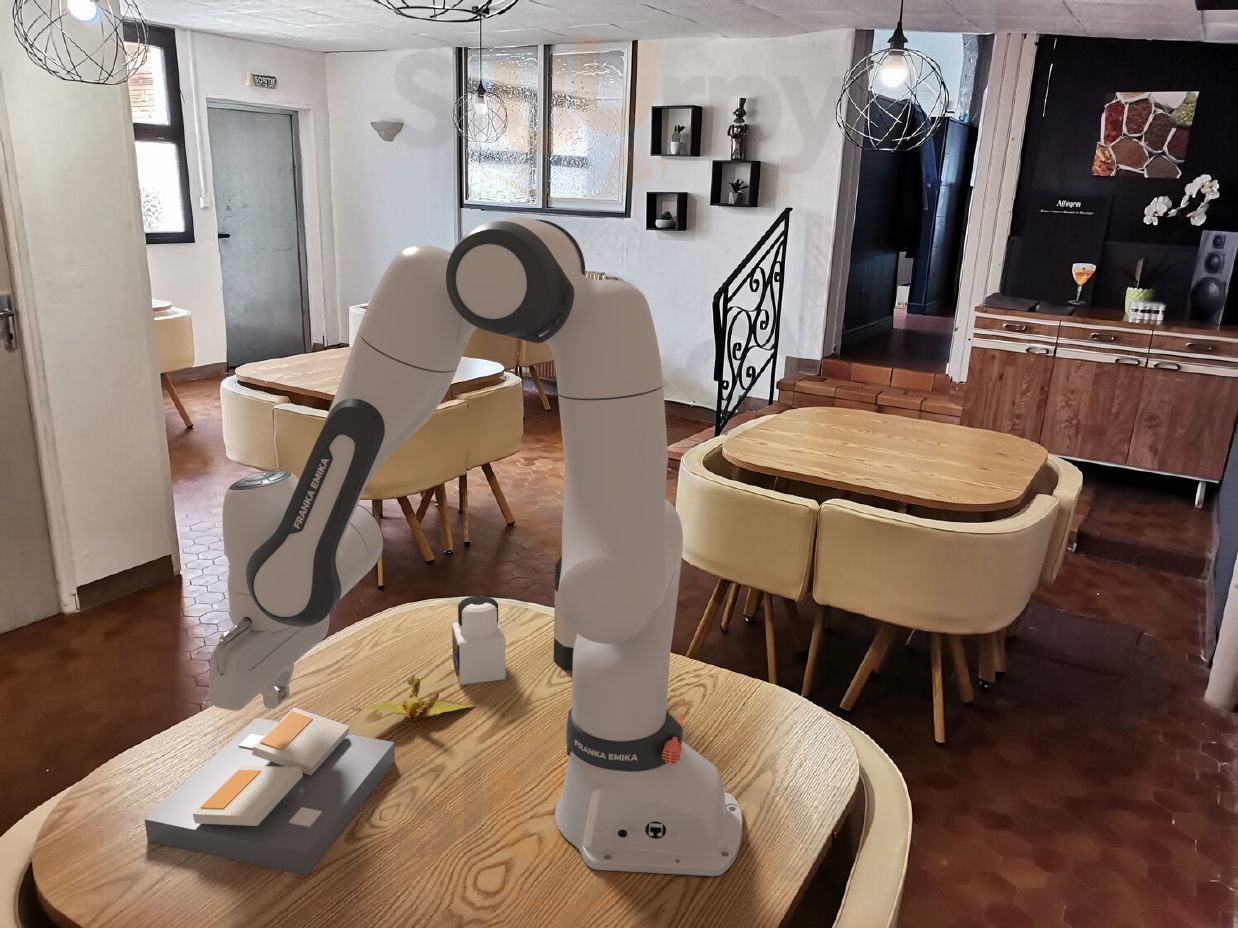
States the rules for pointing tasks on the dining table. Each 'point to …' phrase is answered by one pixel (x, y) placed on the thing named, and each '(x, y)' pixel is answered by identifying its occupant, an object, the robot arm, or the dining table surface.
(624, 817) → the robot arm
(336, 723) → the right rocker
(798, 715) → the dining table surface
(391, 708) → the origami crane
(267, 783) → the left rocker
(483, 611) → the medicine bottle
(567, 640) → the wine bottle
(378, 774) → the switch panel
